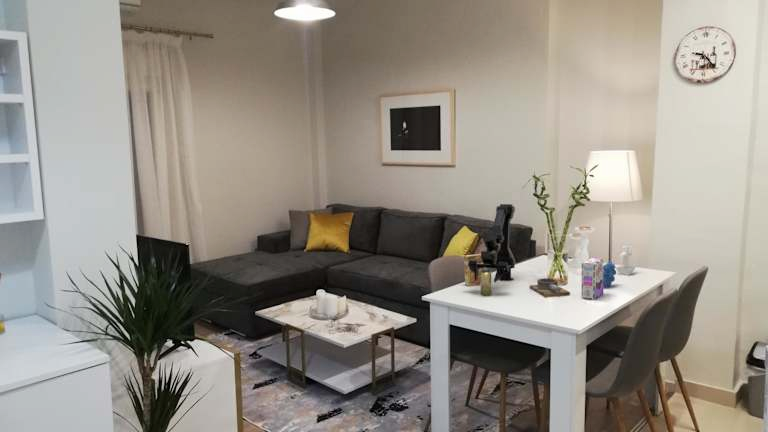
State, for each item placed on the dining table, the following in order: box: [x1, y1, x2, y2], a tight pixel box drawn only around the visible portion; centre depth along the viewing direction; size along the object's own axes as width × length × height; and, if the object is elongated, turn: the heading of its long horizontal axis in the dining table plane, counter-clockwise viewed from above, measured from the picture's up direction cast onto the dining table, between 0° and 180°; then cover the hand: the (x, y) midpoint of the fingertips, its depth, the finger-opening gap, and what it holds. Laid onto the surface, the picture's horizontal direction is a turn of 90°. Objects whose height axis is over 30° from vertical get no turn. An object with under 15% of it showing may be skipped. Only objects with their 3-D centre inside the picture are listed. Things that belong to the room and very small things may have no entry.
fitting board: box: [529, 277, 571, 298], centre depth 274 cm, size 18×12×5 cm, turn 8°
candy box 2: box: [581, 257, 604, 300], centre depth 262 cm, size 14×6×16 cm, turn 143°
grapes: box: [603, 261, 617, 288], centre depth 279 cm, size 12×7×12 cm, turn 127°
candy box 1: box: [463, 253, 483, 287], centre depth 294 cm, size 9×4×15 cm, turn 107°
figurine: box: [615, 245, 637, 276], centre depth 304 cm, size 7×9×15 cm
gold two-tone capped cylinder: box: [480, 267, 493, 297], centre depth 272 cm, size 5×5×13 cm
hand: (485, 281), depth 271 cm, fingers open, 9 cm apart
